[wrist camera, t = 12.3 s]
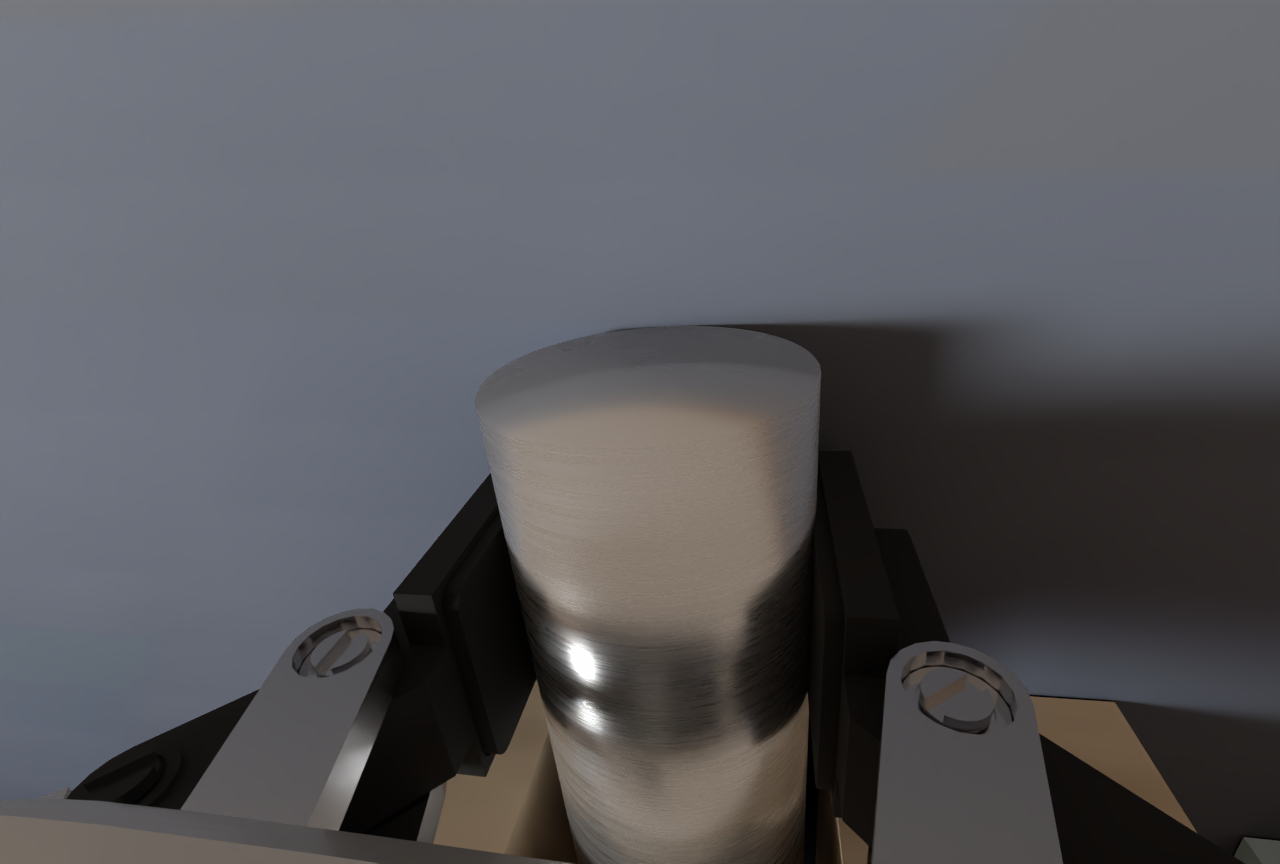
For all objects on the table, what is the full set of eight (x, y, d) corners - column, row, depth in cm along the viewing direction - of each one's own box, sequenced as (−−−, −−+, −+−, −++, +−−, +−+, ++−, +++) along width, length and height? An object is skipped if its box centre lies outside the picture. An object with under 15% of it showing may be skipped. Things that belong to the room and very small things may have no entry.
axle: (790, 882, 16) (808, 1128, 12) (625, 865, 16) (590, 1091, 13) (802, 319, 9) (849, 443, 6) (534, 333, 10) (409, 451, 6)
